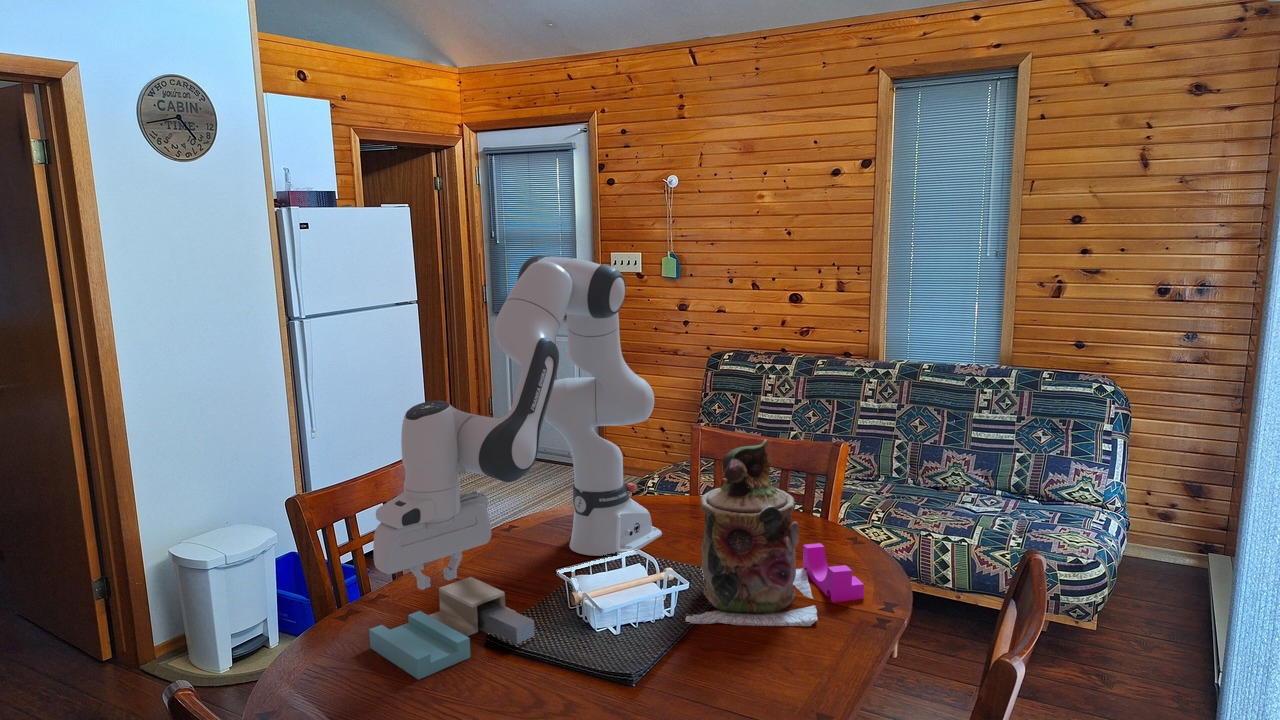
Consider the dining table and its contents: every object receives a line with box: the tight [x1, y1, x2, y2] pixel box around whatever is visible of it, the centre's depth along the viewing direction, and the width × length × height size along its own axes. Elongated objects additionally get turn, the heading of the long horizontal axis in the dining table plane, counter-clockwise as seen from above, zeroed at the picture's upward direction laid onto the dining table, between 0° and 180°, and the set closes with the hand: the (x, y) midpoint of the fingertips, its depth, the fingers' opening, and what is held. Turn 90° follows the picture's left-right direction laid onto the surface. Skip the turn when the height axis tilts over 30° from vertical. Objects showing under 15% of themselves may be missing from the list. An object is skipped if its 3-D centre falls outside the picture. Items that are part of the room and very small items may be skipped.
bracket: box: [428, 576, 517, 637], centre depth 156 cm, size 12×11×6 cm
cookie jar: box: [685, 439, 819, 627], centre depth 159 cm, size 25×25×32 cm
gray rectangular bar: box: [477, 601, 536, 644], centre depth 153 cm, size 4×22×4 cm, turn 48°
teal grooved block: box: [368, 610, 471, 681], centre depth 143 cm, size 10×16×4 cm, turn 46°
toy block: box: [802, 542, 865, 603], centre depth 165 cm, size 15×6×8 cm, turn 11°
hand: (437, 583), depth 136 cm, fingers open, 4 cm apart
